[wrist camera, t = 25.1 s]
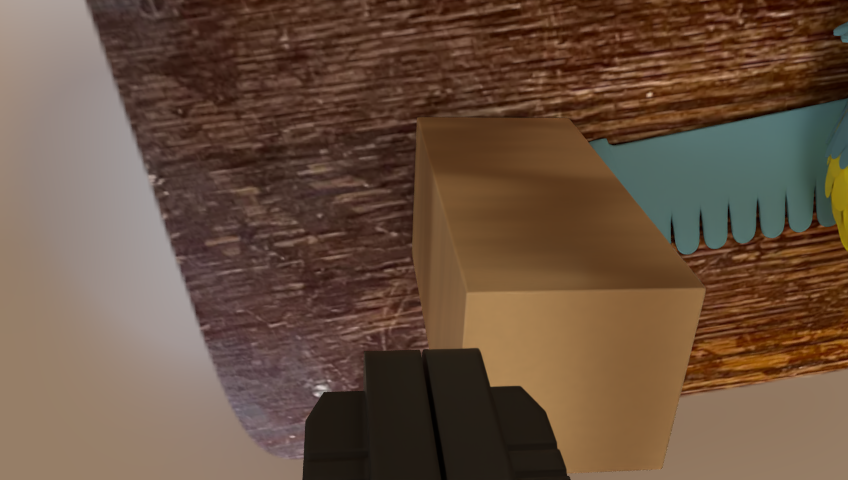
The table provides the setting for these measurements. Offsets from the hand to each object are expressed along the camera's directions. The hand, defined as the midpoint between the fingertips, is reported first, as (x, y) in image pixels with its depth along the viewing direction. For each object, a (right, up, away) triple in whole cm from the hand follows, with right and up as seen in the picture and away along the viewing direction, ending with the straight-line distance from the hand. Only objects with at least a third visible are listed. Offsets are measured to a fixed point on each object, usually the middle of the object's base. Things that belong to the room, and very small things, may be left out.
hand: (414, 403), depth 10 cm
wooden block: (+3, +5, +26) cm, 27 cm away
